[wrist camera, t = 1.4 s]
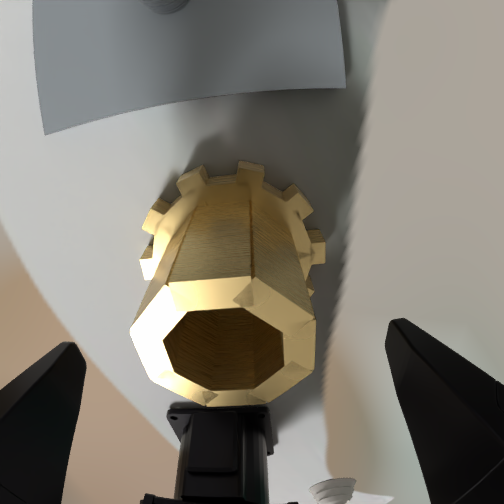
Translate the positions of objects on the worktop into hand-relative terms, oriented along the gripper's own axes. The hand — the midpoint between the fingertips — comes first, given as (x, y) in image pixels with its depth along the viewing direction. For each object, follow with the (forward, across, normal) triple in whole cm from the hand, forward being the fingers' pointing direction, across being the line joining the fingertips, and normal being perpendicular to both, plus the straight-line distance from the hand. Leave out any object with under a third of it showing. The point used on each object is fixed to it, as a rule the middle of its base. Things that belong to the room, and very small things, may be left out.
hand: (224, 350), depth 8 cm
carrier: (+6, +1, -13) cm, 14 cm away
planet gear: (+6, 0, 0) cm, 6 cm away
